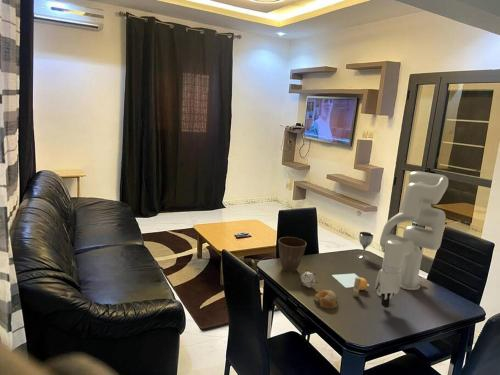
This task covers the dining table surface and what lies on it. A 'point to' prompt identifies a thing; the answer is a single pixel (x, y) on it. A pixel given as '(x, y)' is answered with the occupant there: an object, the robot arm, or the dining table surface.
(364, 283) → the ball
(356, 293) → the post
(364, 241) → the wine glass
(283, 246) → the plant pot
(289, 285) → the dining table surface
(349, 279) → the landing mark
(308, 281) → the game die
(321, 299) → the bread roll
